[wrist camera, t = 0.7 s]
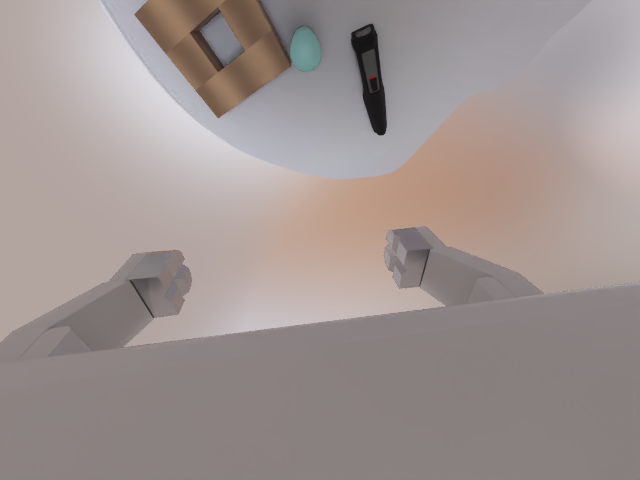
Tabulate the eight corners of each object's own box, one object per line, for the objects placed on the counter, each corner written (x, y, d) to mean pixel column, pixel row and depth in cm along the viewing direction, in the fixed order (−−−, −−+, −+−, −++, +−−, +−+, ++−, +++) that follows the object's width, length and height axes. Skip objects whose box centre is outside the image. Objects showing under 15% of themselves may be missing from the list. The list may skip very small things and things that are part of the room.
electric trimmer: (368, 132, 46) (372, 139, 44) (348, 33, 36) (352, 35, 34) (388, 125, 46) (392, 132, 44) (373, 22, 35) (378, 23, 33)
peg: (308, 20, 34) (311, 23, 26) (320, 48, 37) (327, 60, 28) (287, 36, 36) (283, 45, 27) (300, 62, 38) (300, 78, 29)
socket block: (225, -64, 29) (217, -72, 26) (291, 61, 38) (290, 66, 35) (148, 14, 33) (134, 14, 30) (223, 110, 42) (218, 118, 39)
